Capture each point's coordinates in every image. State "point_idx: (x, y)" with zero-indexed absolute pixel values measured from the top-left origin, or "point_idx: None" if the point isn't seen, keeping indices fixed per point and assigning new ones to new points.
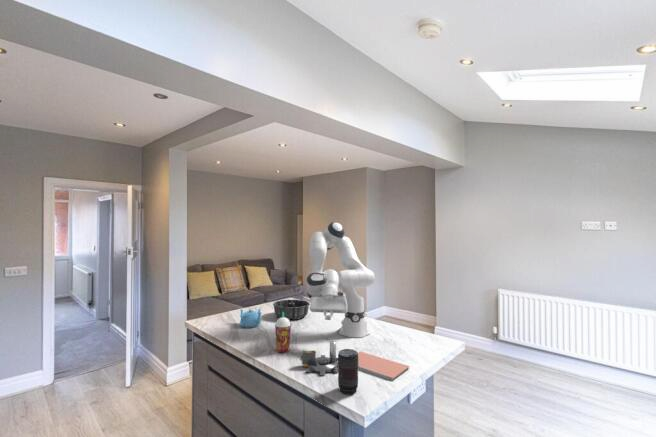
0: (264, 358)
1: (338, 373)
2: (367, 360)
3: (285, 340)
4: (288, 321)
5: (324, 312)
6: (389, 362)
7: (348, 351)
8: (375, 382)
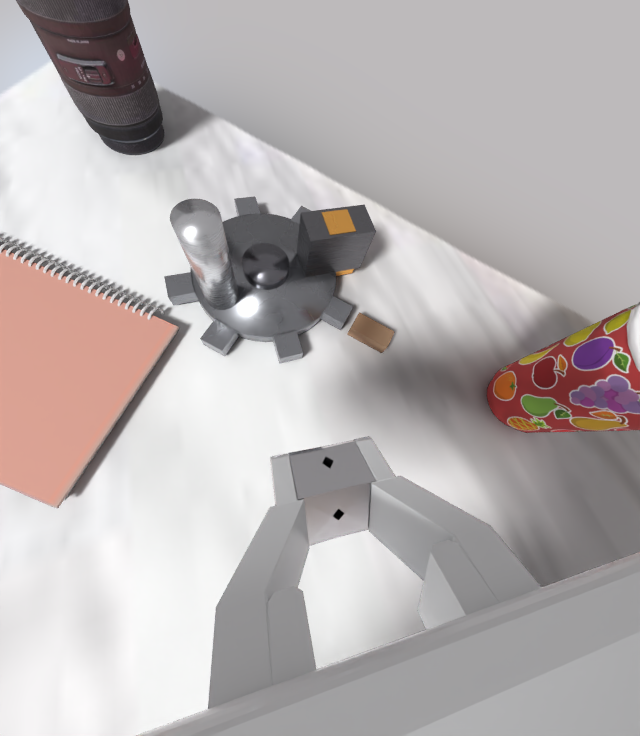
0: (521, 302)
1: (142, 51)
2: (14, 367)
3: (537, 355)
4: None
5: (457, 523)
6: None
7: None
8: (10, 192)
